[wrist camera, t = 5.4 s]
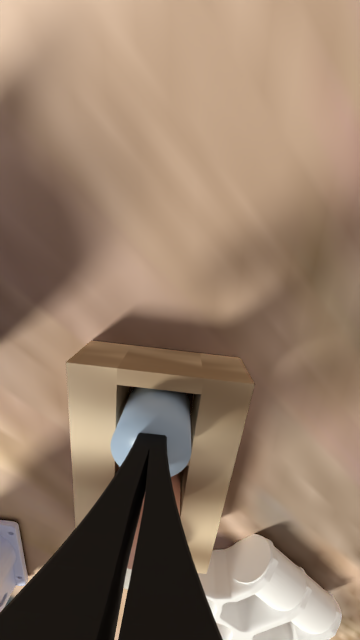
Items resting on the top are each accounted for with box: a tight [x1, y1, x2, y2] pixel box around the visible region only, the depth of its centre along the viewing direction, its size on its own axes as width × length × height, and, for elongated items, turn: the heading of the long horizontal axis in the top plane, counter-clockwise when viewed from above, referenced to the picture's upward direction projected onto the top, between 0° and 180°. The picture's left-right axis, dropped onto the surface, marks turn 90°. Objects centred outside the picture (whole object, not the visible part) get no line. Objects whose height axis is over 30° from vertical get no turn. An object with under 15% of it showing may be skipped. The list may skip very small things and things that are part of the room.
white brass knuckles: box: [198, 534, 342, 640], centre depth 20 cm, size 3×18×15 cm
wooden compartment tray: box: [66, 341, 255, 574], centre depth 14 cm, size 17×10×3 cm, turn 174°
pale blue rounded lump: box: [110, 387, 191, 477], centre depth 11 cm, size 4×4×3 cm
